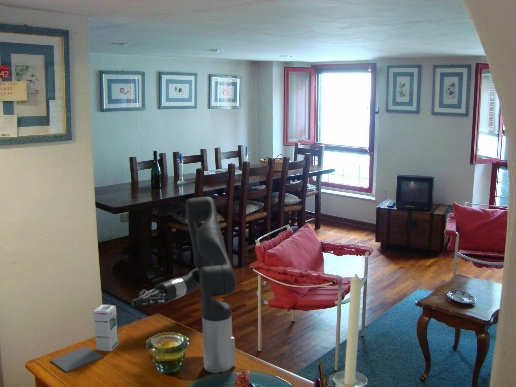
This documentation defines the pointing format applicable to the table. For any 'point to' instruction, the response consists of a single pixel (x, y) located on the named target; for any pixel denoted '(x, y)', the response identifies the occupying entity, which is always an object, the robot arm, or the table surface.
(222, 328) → the robot arm
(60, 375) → the table surface
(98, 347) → the syrup box
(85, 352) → the charcoal mat
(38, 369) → the table surface
